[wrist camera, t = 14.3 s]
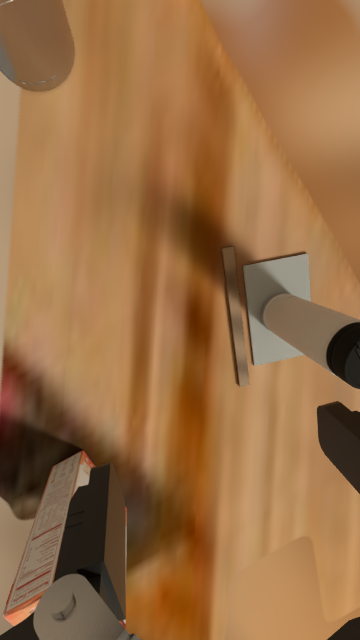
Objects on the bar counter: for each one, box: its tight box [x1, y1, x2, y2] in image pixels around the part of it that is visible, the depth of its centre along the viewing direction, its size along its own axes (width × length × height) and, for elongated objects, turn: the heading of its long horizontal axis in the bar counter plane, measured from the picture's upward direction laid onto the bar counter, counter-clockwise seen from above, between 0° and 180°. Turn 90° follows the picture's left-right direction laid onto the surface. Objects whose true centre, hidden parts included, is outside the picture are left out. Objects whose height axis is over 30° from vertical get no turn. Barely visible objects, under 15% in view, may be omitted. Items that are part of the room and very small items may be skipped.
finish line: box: [221, 246, 250, 387], centre depth 47 cm, size 22×2×1 cm, turn 9°
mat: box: [243, 253, 311, 366], centre depth 48 cm, size 16×10×1 cm, turn 10°
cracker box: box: [3, 450, 126, 628], centre depth 41 cm, size 14×6×21 cm, turn 27°
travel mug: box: [261, 293, 360, 389], centre depth 38 cm, size 6×7×20 cm
